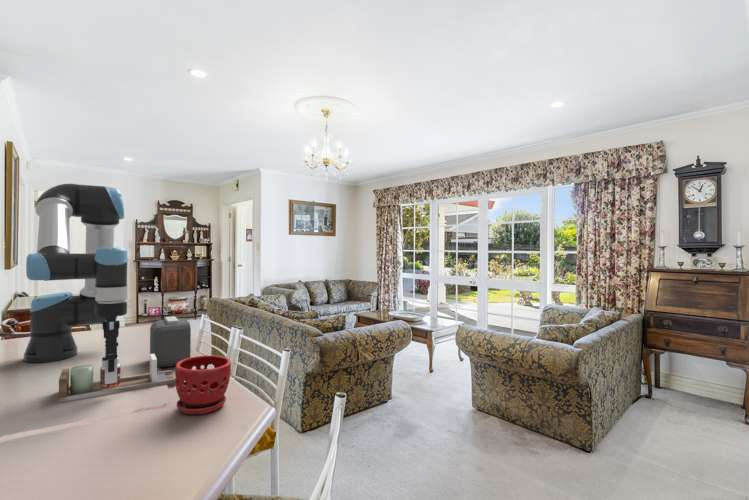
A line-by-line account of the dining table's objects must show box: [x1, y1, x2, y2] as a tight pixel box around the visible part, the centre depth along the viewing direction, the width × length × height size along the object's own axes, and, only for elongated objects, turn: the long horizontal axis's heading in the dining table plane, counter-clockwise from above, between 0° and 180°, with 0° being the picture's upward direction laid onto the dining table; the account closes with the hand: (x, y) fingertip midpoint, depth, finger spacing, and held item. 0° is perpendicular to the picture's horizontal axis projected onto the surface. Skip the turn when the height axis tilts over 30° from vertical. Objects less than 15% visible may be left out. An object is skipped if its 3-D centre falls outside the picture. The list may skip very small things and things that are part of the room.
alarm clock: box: [149, 315, 192, 368], centre depth 136 cm, size 16×11×16 cm
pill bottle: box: [99, 356, 122, 390], centre depth 108 cm, size 5×5×8 cm
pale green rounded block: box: [69, 364, 94, 395], centre depth 104 cm, size 5×5×7 cm
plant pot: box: [174, 355, 232, 415], centre depth 98 cm, size 13×13×12 cm
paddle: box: [149, 353, 167, 382], centre depth 115 cm, size 7×4×7 cm, turn 35°
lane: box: [58, 367, 176, 404], centre depth 110 cm, size 10×27×7 cm, turn 125°
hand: (110, 376), depth 108 cm, fingers open, 13 cm apart
